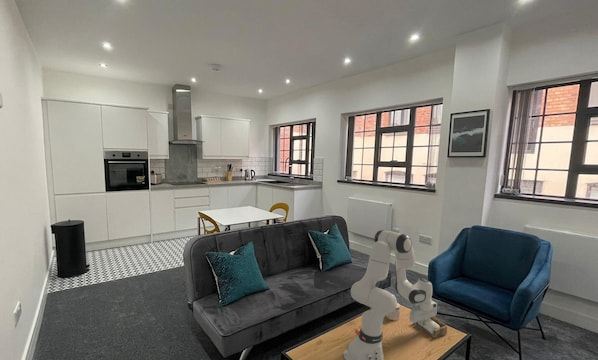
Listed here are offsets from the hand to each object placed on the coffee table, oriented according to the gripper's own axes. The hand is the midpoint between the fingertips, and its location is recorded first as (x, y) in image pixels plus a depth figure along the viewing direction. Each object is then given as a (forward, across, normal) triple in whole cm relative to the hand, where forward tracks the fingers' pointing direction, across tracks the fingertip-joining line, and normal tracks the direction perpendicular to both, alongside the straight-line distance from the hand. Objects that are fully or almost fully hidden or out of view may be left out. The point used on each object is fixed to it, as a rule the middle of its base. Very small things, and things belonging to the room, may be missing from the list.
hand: (422, 325), depth 178 cm
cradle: (+4, +7, 0) cm, 8 cm away
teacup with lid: (+4, -5, +21) cm, 22 cm away
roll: (+1, +5, 0) cm, 5 cm away
